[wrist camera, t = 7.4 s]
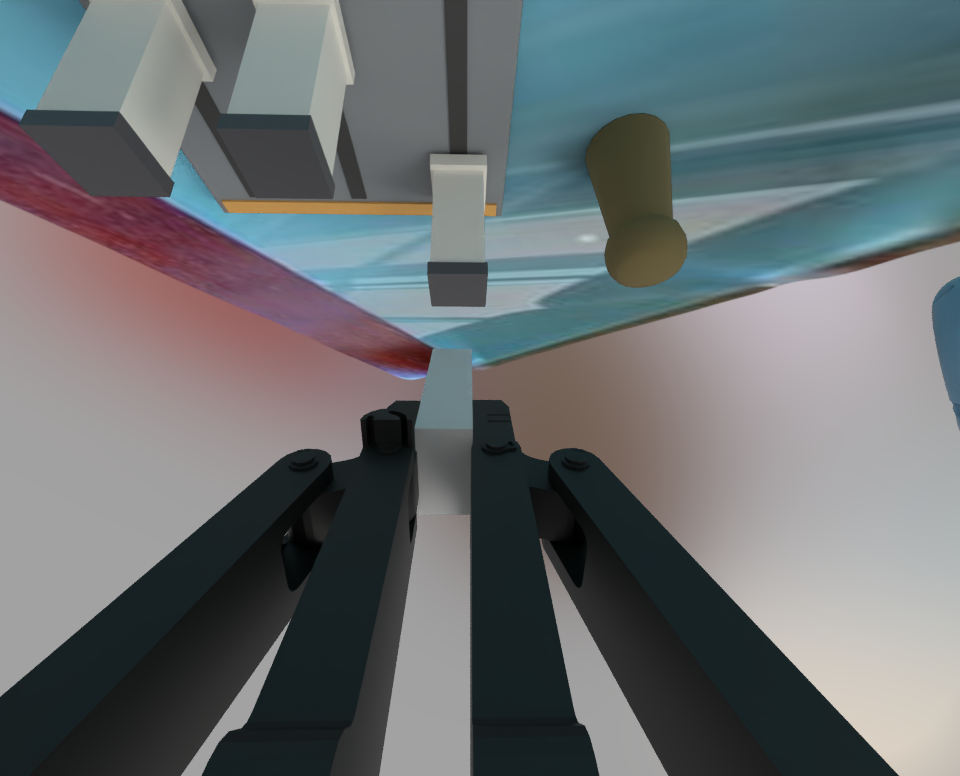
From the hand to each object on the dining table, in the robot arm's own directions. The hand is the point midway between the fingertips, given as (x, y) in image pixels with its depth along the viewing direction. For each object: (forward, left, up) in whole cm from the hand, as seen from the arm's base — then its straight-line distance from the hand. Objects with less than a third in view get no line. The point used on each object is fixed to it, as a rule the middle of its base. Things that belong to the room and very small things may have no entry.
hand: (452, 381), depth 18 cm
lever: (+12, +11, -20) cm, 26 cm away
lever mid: (+6, +5, -20) cm, 22 cm away
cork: (-14, -3, -22) cm, 26 cm away
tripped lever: (-6, +6, -20) cm, 22 cm away
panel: (+3, +9, -22) cm, 24 cm away
